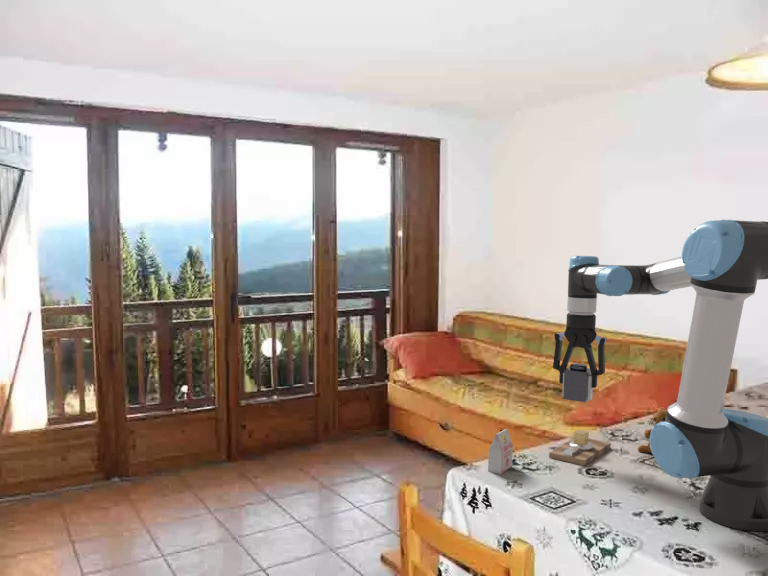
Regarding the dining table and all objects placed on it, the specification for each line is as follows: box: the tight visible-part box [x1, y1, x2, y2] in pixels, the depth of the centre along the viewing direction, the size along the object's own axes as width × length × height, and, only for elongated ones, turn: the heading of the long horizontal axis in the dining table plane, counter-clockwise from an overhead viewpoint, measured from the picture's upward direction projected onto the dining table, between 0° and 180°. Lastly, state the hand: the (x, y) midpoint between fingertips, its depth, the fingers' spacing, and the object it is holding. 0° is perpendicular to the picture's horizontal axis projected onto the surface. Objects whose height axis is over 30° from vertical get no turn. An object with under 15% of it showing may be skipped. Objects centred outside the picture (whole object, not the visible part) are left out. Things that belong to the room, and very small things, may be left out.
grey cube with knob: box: [562, 362, 591, 403], centre depth 177 cm, size 6×6×9 cm
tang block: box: [548, 429, 612, 467], centre depth 184 cm, size 20×10×6 cm, turn 142°
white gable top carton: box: [487, 428, 514, 475], centre depth 170 cm, size 4×7×10 cm, turn 145°
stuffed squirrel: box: [637, 408, 667, 455], centre depth 184 cm, size 10×14×13 cm
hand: (577, 397), depth 177 cm, fingers closed on grey cube with knob, 6 cm apart
